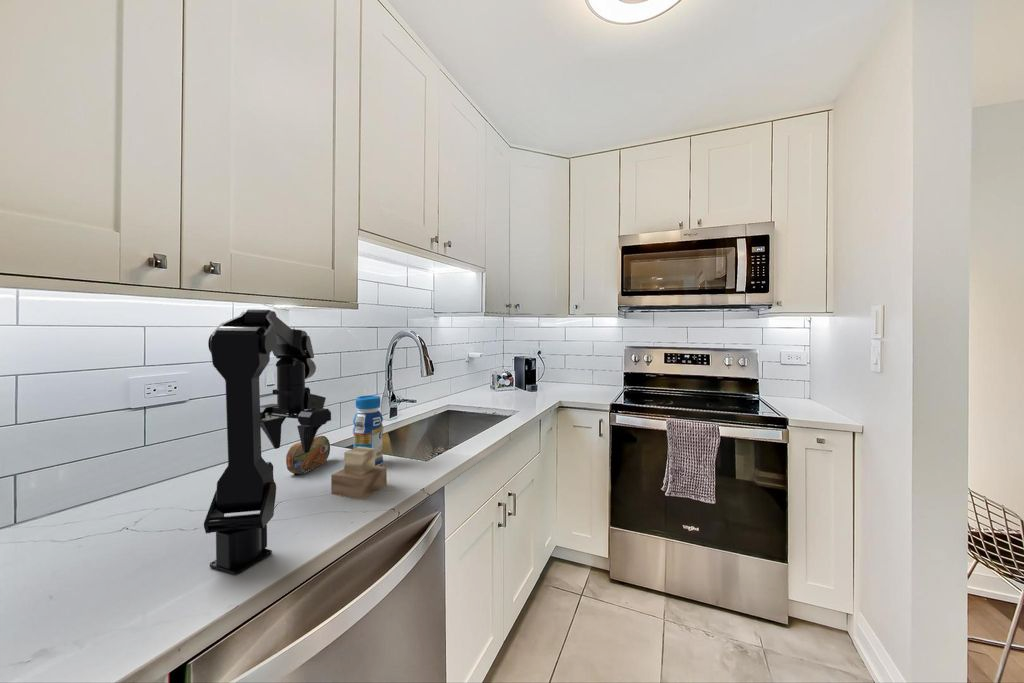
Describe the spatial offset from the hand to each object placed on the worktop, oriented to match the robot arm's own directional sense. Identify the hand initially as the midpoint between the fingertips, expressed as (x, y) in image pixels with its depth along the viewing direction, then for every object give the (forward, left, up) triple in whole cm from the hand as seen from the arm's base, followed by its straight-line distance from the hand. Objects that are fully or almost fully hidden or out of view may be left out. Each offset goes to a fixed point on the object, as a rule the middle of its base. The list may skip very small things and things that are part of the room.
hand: (291, 450), depth 91 cm
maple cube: (+9, -12, -6) cm, 16 cm away
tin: (+16, +12, -11) cm, 23 cm away
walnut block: (+9, -12, -11) cm, 19 cm away
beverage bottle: (+24, -2, -11) cm, 27 cm away
